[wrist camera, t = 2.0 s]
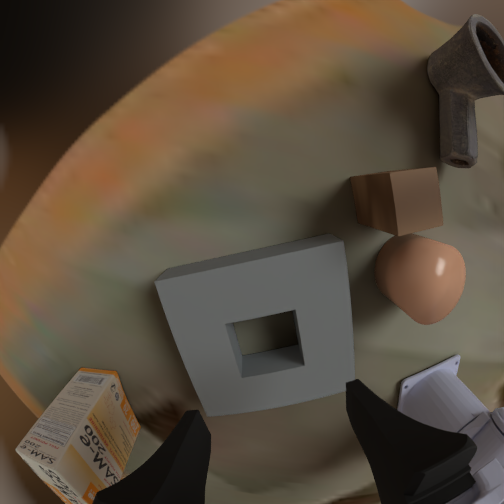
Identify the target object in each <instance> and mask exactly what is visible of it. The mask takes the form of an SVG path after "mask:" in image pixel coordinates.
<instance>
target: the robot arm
mask: <svg viewBox="0 0 504 504" xmlns="http://www.w3.org/2000/svg"><path fill="white" fill-rule="evenodd" d="M459 362H460V355H458V354H457V355H455V356H453V357H451V358H449V359H447V360H445V361H443V362H441V363H439V364H437V365H435V366H433V367H431V368H429V369H426V370H424V371H422V372H420V373H417V374H415V375H413V376H410V377H408V378H406V379H404V380H403V381H402V382H401V388H400V395H399V402H398V408H397V410H396V409H395V408H393V407H392V406H390V405H389V404H388V403H386V402H385V401H384V400H382V399H381V398H380V397H378V396H377V395H376V394H375V393H373V392H372V391H371V390H370V389H369V388H368V387H366V386H365V385H364V384H363V383H362V382H361V381H360V380H359V379H356V380H353V381H349V382H346V410H347V413H348V416H349V419H350V422H351V425H352V428H353V430H354V432H355V434H356V436H357V438H358V440H359V442H360V444H361V446H362V448H363V450H364V453H365V455H366V457H367V459H368V461H369V464H370V467H371V470H372V473H373V476H374V479H375V482H376V486H377V489H378V493H379V497H380V500H381V504H504V407H502V408H496V409H494V411H493V412H490V411H489V410H488V409H487V408H486V407H485V406H484V405H483V404H482V403H481V401H480V400H479V399H478V398H477V397H476V396H475V395H474V394H473V393H472V392H471V391H470V390H469V389H468V388H467V387H466V386H465V384H464V383H463V382H462V381H461V380H460V379H459V378H458V377H457V376H456V374H457V370H458V366H459ZM210 453H211V434H210V432H209V430H208V428H207V426H206V424H205V422H204V420H203V418H202V416H201V414H200V412H199V410H189V411H186V412H185V414H184V415H183V417H182V418H181V420H180V421H179V422H178V424H177V425H176V427H175V428H174V430H173V431H172V432H171V434H170V435H169V436H168V438H167V439H166V440H165V441H164V443H163V444H162V445H161V446H160V447H159V448H158V450H157V451H156V452H155V453H154V454H153V455H152V456H151V457H150V458H149V459H148V460H147V461H146V462H145V463H144V464H143V465H141V466H140V467H139V468H138V469H136V470H135V471H134V472H132V473H131V474H130V475H128V476H127V477H125V478H124V479H122V480H120V481H119V482H117V483H115V484H113V485H111V486H109V487H107V488H105V489H103V490H101V491H98V492H97V493H96V495H95V498H94V500H93V503H92V504H205V485H206V478H207V472H208V466H209V460H210Z"/></svg>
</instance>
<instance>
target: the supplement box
mask: <svg viewBox="0 0 504 504" xmlns="http://www.w3.org/2000/svg"><path fill="white" fill-rule="evenodd" d="M140 428H141V427H140V424H139V423H138V421H137V419H136V417H135V415H134V413H133V411H132V409H131V406H130V404H129V402H128V400H127V398H126V395H125V393H124V390H123V387H122V385H121V381H120V379H119V376H118V373H117V372H116V371H110V370H101V369H92V368H83V367H82V368H80V369H79V371H78V372H77V373H76V374H75V375H74V376H73V378H72V379H71V380H70V381H69V382H68V383H67V385H66V386H65V387H64V388H63V389H62V391H61V392H60V393H59V394H58V395H57V397H56V398H55V399H54V400H53V402H52V403H51V404H50V405H49V406H48V408H47V409H46V410H45V412H44V413H43V414H42V415H41V417H40V418H39V419H38V420H37V422H36V423H35V424H34V425H33V427H32V428H31V429H30V431H29V432H28V433H27V435H26V436H25V437H24V439H23V440H22V441H21V442H20V444H19V445H18V447H17V448H16V451H17V453H18V454H19V455H20V456H21V457H22V458H23V459H24V460H25V461H26V463H27V464H28V465H29V466H30V467H31V469H32V470H33V471H34V472H35V473H36V474H37V475H38V476H39V477H40V479H41V480H42V481H43V482H44V483H45V484H46V485H47V486H48V487H49V488H50V489H51V490H52V491H53V492H54V493H56V495H58V496H59V497H60V499H62V501H63V502H65V503H66V504H92V503H93V500H94V498H95V495H96V493H97V492H98V491H101V490H103V489H105V488H107V487H109V486H111V485H113V484H115V483H117V482H119V481H120V479H121V476H122V474H123V471H124V468H125V466H126V463H127V461H128V458H129V455H130V453H131V451H132V448H133V446H134V443H135V441H136V438H137V436H138V433H139V430H140Z"/></svg>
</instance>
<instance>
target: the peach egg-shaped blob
mask: <svg viewBox="0 0 504 504" xmlns="http://www.w3.org/2000/svg"><path fill="white" fill-rule="evenodd" d="M374 275H375V281H376V284H377V287H378V288H379V290H380V291H381V293H382V294H384V295H385V296H386V297H387V298H388V299H390V300H391V301H392V302H393V303H394V304H396V305H397V306H398V307H399V308H400V309H402V310H403V311H404V312H405V313H406V314H407V315H409V316H410V317H411V318H412V319H413V320H415V321H416V322H418V323H420V324H424V325H429V324H433V323H436V322H438V321H440V320H442V319H443V318H445V317H446V316H447V315H448V314H449V313H450V312H451V311H452V310H453V308H454V307H455V306H456V304H457V302H458V301H459V299H460V297H461V294H462V292H463V288H464V284H465V277H466V271H465V264H464V260H463V258H462V256H461V254H460V253H459V251H458V250H457V249H455V248H454V247H452V246H450V245H447V244H444V243H441V242H438V241H435V240H432V239H428V238H425V237H422V236H419V235H416V234H412V233H410V234H406V235H402V236H396V235H395V236H394V237H392V238H391V239H389V240H388V241H387V242H386V243H385V244H384V246H383V247H382V248H381V250H380V252H379V254H378V256H377V259H376V263H375V270H374Z"/></svg>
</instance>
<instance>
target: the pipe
mask: <svg viewBox="0 0 504 504" xmlns="http://www.w3.org/2000/svg"><path fill="white" fill-rule="evenodd" d="M427 72H428V76H429V79H430V82H431V83H432V85H433V86H434V87H435V89H436V91H437V92H438V93H439V113H440V114H439V122H440V159H441V161H442V162H444V163H446V164H448V165H451V166H454V167H457V168H471V167H472V166H473V165H475V164H476V163H477V156H478V147H477V128H476V118H475V103H474V101H475V100H477V99H479V98H484V97H489V96H495V95H504V40H503V39H502V37H501V35H500V34H499V33H498V31H497V30H496V29H495V27H494V26H493V25H492V24H491V23H490V22H489V21H488V20H487V19H486V18H484V17H483V16H480V15H477V14H474V15H472V16H471V17H470V18H469V19H468V21H467V22H466V23H465V24H464V26H463V27H462V28H461V29H460V30H459V31H458V32H457V33H456V34H455V35H454V36H453V37H452V38H451V39H450V40H448V41H447V42H446V43H445V44H444V45H442V46H441V47H440V48H438V49H437V50H435V51H434V52H433V53H432V54H431V55H430V57H429V60H428V65H427Z"/></svg>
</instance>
